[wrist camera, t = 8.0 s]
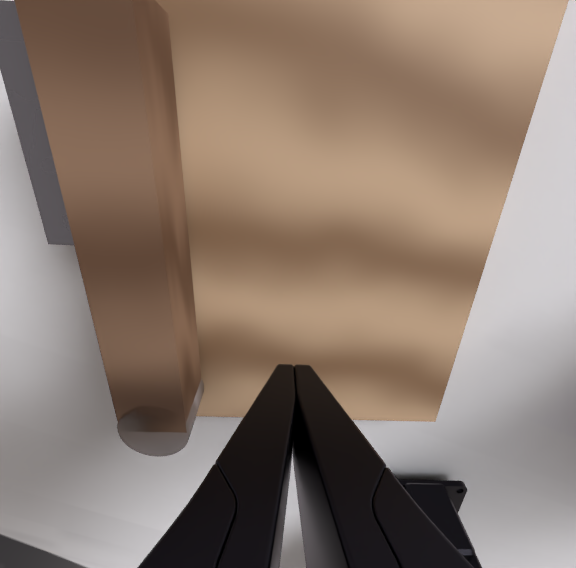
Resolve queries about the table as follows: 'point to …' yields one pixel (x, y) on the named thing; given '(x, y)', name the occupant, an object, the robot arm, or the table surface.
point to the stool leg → (123, 201)
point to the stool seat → (332, 181)
